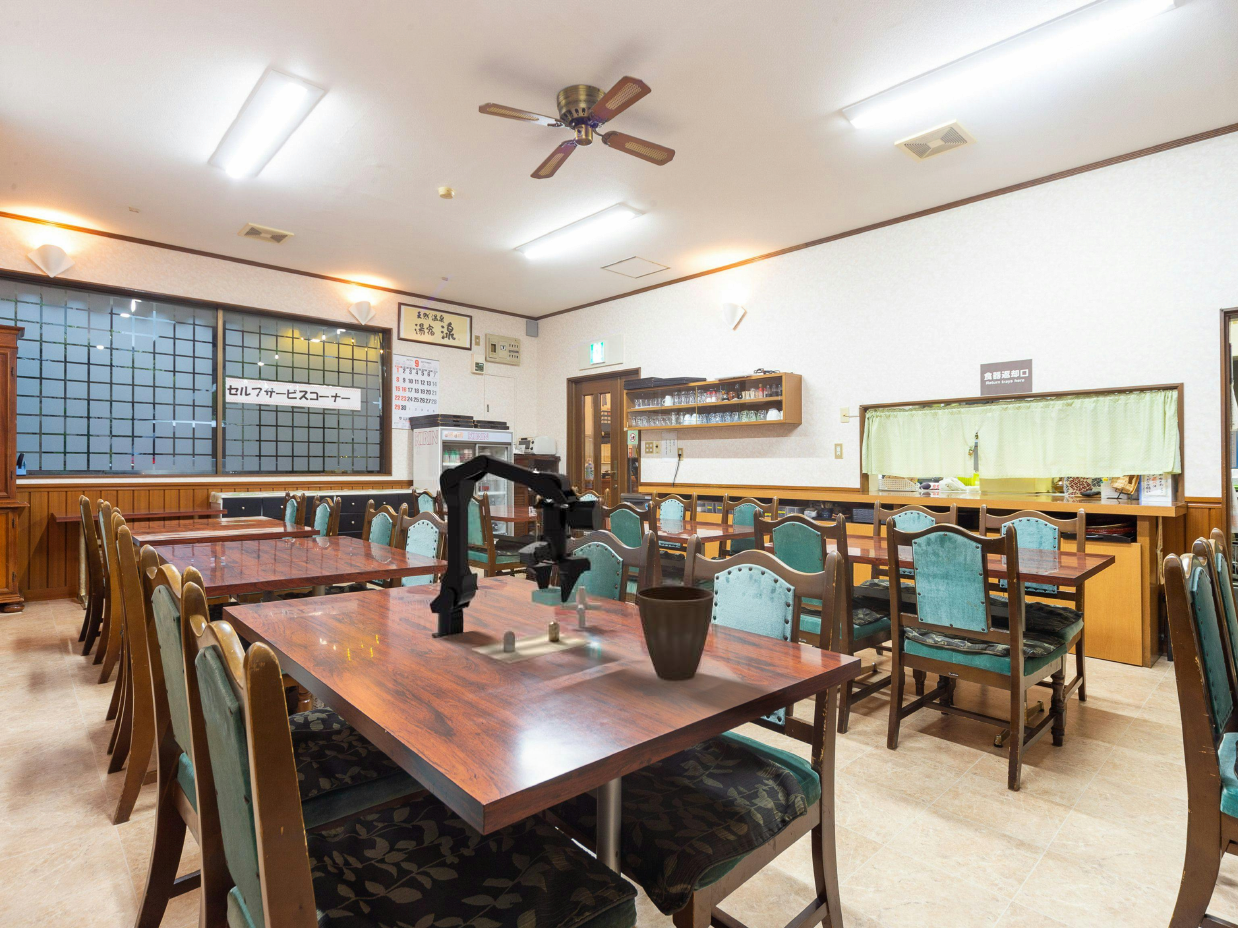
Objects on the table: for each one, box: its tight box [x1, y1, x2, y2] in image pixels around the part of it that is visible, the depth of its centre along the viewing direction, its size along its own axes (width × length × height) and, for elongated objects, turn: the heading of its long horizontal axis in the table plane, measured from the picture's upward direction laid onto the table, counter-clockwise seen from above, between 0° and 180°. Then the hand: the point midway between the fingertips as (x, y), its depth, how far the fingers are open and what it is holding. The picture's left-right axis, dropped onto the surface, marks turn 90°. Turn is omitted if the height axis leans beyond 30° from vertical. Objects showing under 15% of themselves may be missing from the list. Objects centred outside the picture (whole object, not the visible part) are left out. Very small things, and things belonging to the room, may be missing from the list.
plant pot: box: [636, 585, 715, 682], centre depth 125 cm, size 15×15×16 cm
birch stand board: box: [471, 630, 592, 664], centre depth 139 cm, size 14×22×6 cm, turn 135°
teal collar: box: [531, 586, 577, 608], centre depth 144 cm, size 7×7×2 cm
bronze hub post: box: [548, 621, 560, 642], centre depth 144 cm, size 2×2×4 cm
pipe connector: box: [561, 586, 603, 628], centre depth 163 cm, size 10×10×10 cm
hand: (553, 599), depth 144 cm, fingers closed on teal collar, 7 cm apart
